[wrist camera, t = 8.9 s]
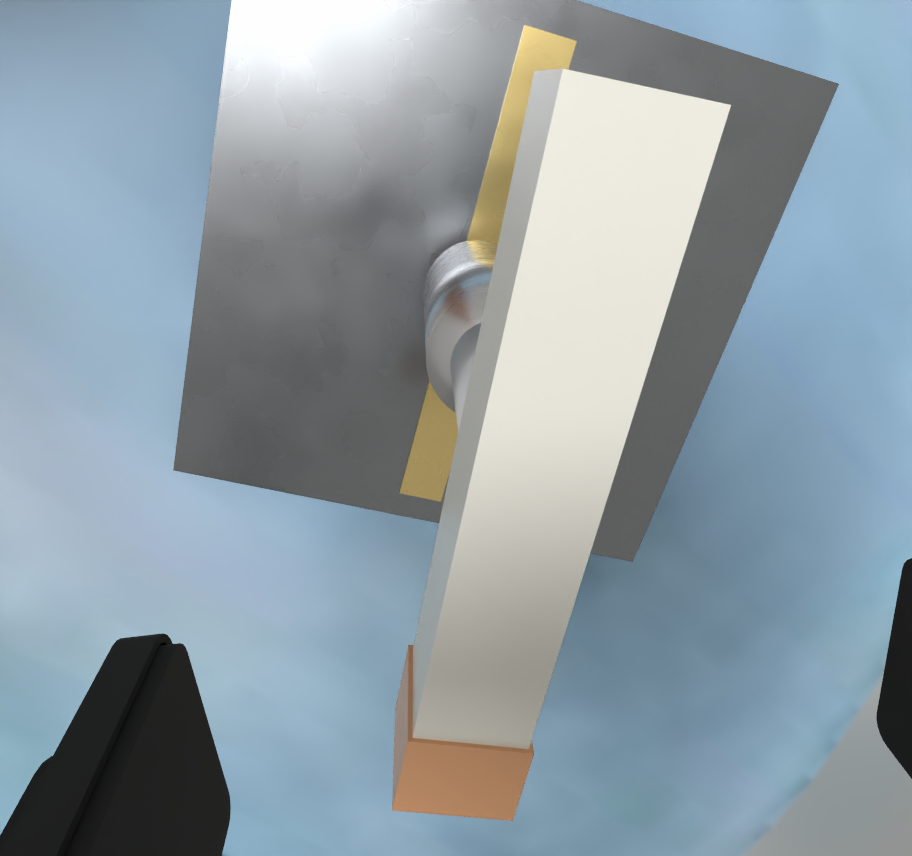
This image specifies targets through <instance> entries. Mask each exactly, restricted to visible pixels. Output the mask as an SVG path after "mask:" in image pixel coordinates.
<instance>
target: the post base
mask: <svg viewBox="0 0 912 856" xmlns="http://www.w3.org/2000/svg"><path fill="white" fill-rule="evenodd" d="M552 69H567V70H572V71H576V72H581V73H586V74H590V75H595V76H600V77H604V78H609V79H613V80H618V81H623V82H627V83H632V84H637V85H641V86H646V87H650V88H655V89H660V90H664V91H669V92H673V93H678V94H683V95H687V96H692V97H697V98H701V99H706V100H710V101H715V102H720V103H724V104H729V105H731V107H730V110H729V113H728V117H727V120H726V123H725V126H724V129H723V133H722V136H721V139H720V142H719V145H718V148H717V152H716V155H715V158H714V161H713V164H712V168H711V171H710V174H709V177H708V180H707V183H706V187H705V190H704V193H703V196H702V199H701V202H700V206H699V209H698V212H697V215H696V218H695V222H694V225H693V228H692V231H691V234H690V237H689V241H688V244H687V247H686V250H685V253H684V257H683V260H682V263H681V266H680V269H679V272H678V276H677V279H676V282H675V285H674V288H673V292H672V295H671V298H670V301H669V304H668V307H667V311H666V314H665V317H664V320H663V323H662V327H661V330H660V333H659V336H658V339H657V342H656V346H655V349H654V352H653V355H652V358H651V362H650V365H649V368H648V371H647V374H646V377H645V381H644V384H643V387H642V390H641V393H640V397H639V400H638V403H637V406H636V409H635V412H634V416H633V419H632V422H631V425H630V428H629V432H628V435H627V438H626V441H625V444H624V447H623V451H622V454H621V457H620V460H619V463H618V466H617V470H616V473H615V476H614V479H613V482H612V486H611V489H610V492H609V495H608V498H607V501H606V505H605V508H604V511H603V514H602V517H601V521H600V524H599V527H598V530H597V533H596V536H595V540H594V543H593V546H592V549H591V552H590V553H592V554H597V555H602V556H607V557H612V558H617V559H622V560H627V561H632V562H633V559H634V557H635V555H636V552H637V550H638V548H639V545H640V543H641V541H642V539H643V536H644V534H645V532H646V529H647V527H648V525H649V522H650V520H651V518H652V515H653V513H654V511H655V508H656V506H657V504H658V501H659V499H660V497H661V495H662V492H663V490H664V488H665V485H666V483H667V481H668V478H669V476H670V474H671V471H672V469H673V467H674V464H675V462H676V460H677V458H678V455H679V453H680V451H681V448H682V446H683V444H684V441H685V439H686V437H687V434H688V432H689V430H690V427H691V425H692V423H693V421H694V418H695V416H696V414H697V411H698V409H699V407H700V404H701V402H702V400H703V397H704V395H705V393H706V390H707V388H708V386H709V383H710V381H711V379H712V377H713V374H714V372H715V370H716V367H717V365H718V363H719V360H720V358H721V356H722V353H723V351H724V349H725V346H726V344H727V342H728V340H729V337H730V335H731V333H732V330H733V328H734V326H735V323H736V321H737V319H738V316H739V314H740V312H741V309H742V307H743V305H744V302H745V300H746V298H747V296H748V293H749V291H750V289H751V286H752V284H753V282H754V279H755V277H756V275H757V272H758V270H759V268H760V265H761V263H762V261H763V259H764V256H765V254H766V252H767V249H768V247H769V245H770V242H771V240H772V238H773V235H774V233H775V231H776V228H777V226H778V224H779V222H780V219H781V217H782V215H783V212H784V210H785V208H786V205H787V203H788V201H789V198H790V196H791V194H792V191H793V189H794V187H795V184H796V182H797V180H798V178H799V175H800V173H801V171H802V168H803V166H804V164H805V161H806V159H807V157H808V154H809V152H810V150H811V147H812V145H813V143H814V141H815V138H816V136H817V134H818V131H819V129H820V127H821V124H822V122H823V120H824V117H825V115H826V113H827V110H828V108H829V106H830V103H831V101H832V99H833V97H834V94H835V92H836V90H837V87H838V85H839V84H838V83H834V82H831V81H828V80H825V79H822V78H819V77H816V76H812V75H809V74H806V73H803V72H800V71H797V70H794V69H791V68H787V67H784V66H781V65H778V64H775V63H772V62H769V61H765V60H762V59H759V58H756V57H753V56H750V55H747V54H744V53H740V52H737V51H734V50H731V49H728V48H725V47H722V46H718V45H715V44H712V43H709V42H706V41H703V40H700V39H697V38H693V37H690V36H687V35H684V34H681V33H678V32H675V31H671V30H668V29H665V28H662V27H659V26H656V25H653V24H649V23H646V22H643V21H640V20H637V19H634V18H631V17H628V16H624V15H621V14H618V13H615V12H612V11H609V10H606V9H602V8H599V7H596V6H593V5H590V4H587V3H584V2H581V1H577V0H232V2H231V10H230V18H229V26H228V34H227V42H226V50H225V58H224V66H223V75H222V83H221V91H220V99H219V107H218V115H217V123H216V131H215V139H214V147H213V155H212V163H211V171H210V179H209V187H208V196H207V204H206V212H205V220H204V228H203V236H202V244H201V252H200V260H199V268H198V276H197V284H196V292H195V300H194V308H193V317H192V325H191V333H190V341H189V349H188V357H187V365H186V373H185V381H184V389H183V397H182V405H181V413H180V421H179V429H178V438H177V446H176V454H175V462H174V470H175V471H180V472H185V473H190V474H195V475H200V476H205V477H210V478H215V479H220V480H225V481H230V482H235V483H240V484H245V485H250V486H255V487H260V488H265V489H270V490H275V491H280V492H285V493H290V494H295V495H300V496H305V497H310V498H316V499H321V500H326V501H331V502H336V503H341V504H346V505H351V506H356V507H361V508H366V509H371V510H376V511H381V512H386V513H391V514H396V515H401V516H406V517H411V518H416V519H421V520H426V521H431V522H436V523H439V522H440V517H441V512H442V507H443V503H444V498H445V493H446V488H447V484H448V479H449V474H450V469H451V465H452V460H453V455H454V450H455V446H456V441H457V436H458V426H457V418H456V410H455V402H454V394H453V386H452V378H451V370H450V362H451V356H452V352H453V349H454V347H455V345H456V343H457V342H458V340H459V339H460V338H461V336H462V335H463V334H464V333H465V332H466V331H467V330H469V329H470V328H471V327H473V326H475V325H476V324H479V323H481V322H482V318H483V313H484V308H485V303H486V299H487V294H488V289H489V284H490V280H491V275H492V270H493V265H494V261H495V256H496V251H497V246H498V242H499V237H500V232H501V227H502V223H503V218H504V213H505V208H506V204H507V199H508V194H509V189H510V185H511V180H512V175H513V170H514V166H515V161H516V156H517V151H518V147H519V142H520V137H521V132H522V128H523V123H524V118H525V113H526V109H527V104H528V99H529V94H530V90H531V85H532V80H533V75H534V71H541V70H552Z"/></svg>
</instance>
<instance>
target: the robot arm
mask: <svg viewBox="0 0 912 856" xmlns="http://www.w3.org/2000/svg"><path fill="white" fill-rule="evenodd" d="M877 724H878V728H879V732H880V734H881V736H882V739H883V741H884V742H885V744H886V745H887V747H888V748H889V749H890V751H891V752H892V753H893V754H894V756H895V757H896V759H897V760H898V761H899V763H900V764H901V765H902V767H903V768H904V769H905V771H906V772H907V773H908V774H909V776H910V777H911V778H912V558H911V559H909V560H907V561H906V562H905V563H904V566H903V569H902V574H901V579H900V585H899V591H898V596H897V602H896V608H895V613H894V619H893V625H892V630H891V636H890V642H889V647H888V653H887V659H886V664H885V670H884V676H883V681H882V687H881V693H880V699H879V705H878V710H877ZM229 821H230V796H229V791H228V788H227V784H226V781H225V778H224V774H223V771H222V768H221V764H220V761H219V757H218V754H217V751H216V747H215V744H214V740H213V737H212V734H211V730H210V727H209V724H208V720H207V717H206V713H205V710H204V707H203V703H202V700H201V696H200V693H199V690H198V686H197V683H196V680H195V676H194V673H193V669H192V666H191V663H190V659H189V656H188V652H187V650H186V648H185V646H184V645H183V644H180V643H179V644H172V641H171V639H170V638H169V637H168V635H166V634H155V635H147V636H138V637H130V638H121V639H119V640H117V641H116V642H115V643H114V645H113V646H112V648H111V650H110V651H109V653H108V655H107V657H106V659H105V661H104V662H103V664H102V666H101V668H100V670H99V672H98V674H97V675H96V677H95V679H94V681H93V683H92V685H91V687H90V688H89V690H88V692H87V694H86V696H85V698H84V700H83V701H82V703H81V705H80V707H79V709H78V711H77V713H76V714H75V716H74V718H73V720H72V722H71V724H70V726H69V727H68V729H67V731H66V733H65V735H64V737H63V739H62V740H61V742H60V744H59V746H58V748H57V750H56V751H55V753H54V755H53V756H51V757H50V758H49V759H47V760H46V761H44V762H43V763H42V764H41V766H40V767H39V768H38V770H37V771H36V773H35V774H34V776H33V777H32V779H31V781H30V783H29V785H28V786H27V788H26V790H25V792H24V794H23V796H22V797H21V799H20V801H19V803H18V805H17V806H16V808H15V810H14V812H13V814H12V815H11V817H10V819H9V821H8V823H7V824H6V826H5V828H4V830H3V832H2V834H1V835H0V856H221V855H222V851H223V847H224V843H225V839H226V835H227V831H228V826H229Z"/></svg>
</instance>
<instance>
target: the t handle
mask: <svg viewBox="0 0 912 856" xmlns="http://www.w3.org/2000/svg"><path fill="white" fill-rule="evenodd" d="M730 107H731V105H729V104H724V103H720V102H715V101H710V100H706V99H701V98H697V97H692V96H687V95H683V94H678V93H673V92H669V91H664V90H660V89H655V88H650V87H646V86H641V85H637V84H632V83H627V82H623V81H618V80H613V79H609V78H604V77H600V76H595V75H590V74H586V73H581V72H576V71H572V70H567V69H552V70H541V71H534V75H533V80H532V85H531V90H530V94H529V99H528V104H527V109H526V113H525V118H524V123H523V128H522V132H521V137H520V142H519V147H518V151H517V156H516V161H515V166H514V170H513V175H512V180H511V185H510V189H509V194H508V199H507V204H506V208H505V213H504V218H503V223H502V227H501V232H500V237H499V242H498V246H497V251H496V256H495V261H494V265H493V270H492V275H491V280H490V284H489V289H488V294H487V299H486V303H485V308H484V313H483V318H482V322H481V323H479V324H476V325H475V326H473V327H471V328H470V329H469V330H467V331H466V332H465V333H464V334H463V335H462V336H461V338H460V339H459V340H458V342H457V343H456V345H455V347H454V349H453V352H452V356H451V362H450V370H451V378H452V386H453V394H454V402H455V410H456V418H457V426H458V436H457V441H456V446H455V450H454V455H453V460H452V465H451V469H450V474H449V479H448V484H447V488H446V493H445V498H444V503H443V507H442V512H441V517H440V522H439V526H438V531H437V536H436V541H435V545H434V550H433V555H432V560H431V564H430V569H429V574H428V579H427V583H426V588H425V593H424V598H423V602H422V607H421V612H420V617H419V621H418V626H417V631H416V636H415V640H414V645H413V646H412V645H408V650H407V655H406V660H405V665H404V669H403V674H402V679H401V684H400V689H399V693H398V698H397V703H396V708H395V737H394V770H393V803H392V810H393V811H405V812H417V813H428V814H440V815H452V816H463V817H475V818H487V819H498V820H510V821H513V818H514V815H515V812H516V809H517V805H518V802H519V799H520V796H521V793H522V790H523V787H524V784H525V780H526V777H527V774H528V771H529V768H530V765H531V762H532V759H533V755H534V751H533V745H532V737H533V734H534V730H535V727H536V724H537V721H538V718H539V715H540V711H541V708H542V705H543V702H544V699H545V696H546V692H547V689H548V686H549V683H550V680H551V676H552V673H553V670H554V667H555V664H556V661H557V657H558V654H559V651H560V648H561V645H562V641H563V638H564V635H565V632H566V629H567V626H568V622H569V619H570V616H571V613H572V610H573V606H574V603H575V600H576V597H577V594H578V591H579V587H580V584H581V581H582V578H583V575H584V571H585V568H586V565H587V562H588V559H589V556H590V552H591V549H592V546H593V543H594V540H595V536H596V533H597V530H598V527H599V524H600V521H601V517H602V514H603V511H604V508H605V505H606V501H607V498H608V495H609V492H610V489H611V486H612V482H613V479H614V476H615V473H616V470H617V466H618V463H619V460H620V457H621V454H622V451H623V447H624V444H625V441H626V438H627V435H628V432H629V428H630V425H631V422H632V419H633V416H634V412H635V409H636V406H637V403H638V400H639V397H640V393H641V390H642V387H643V384H644V381H645V377H646V374H647V371H648V368H649V365H650V362H651V358H652V355H653V352H654V349H655V346H656V342H657V339H658V336H659V333H660V330H661V327H662V323H663V320H664V317H665V314H666V311H667V307H668V304H669V301H670V298H671V295H672V292H673V288H674V285H675V282H676V279H677V276H678V272H679V269H680V266H681V263H682V260H683V257H684V253H685V250H686V247H687V244H688V241H689V237H690V234H691V231H692V228H693V225H694V222H695V218H696V215H697V212H698V209H699V206H700V202H701V199H702V196H703V193H704V190H705V187H706V183H707V180H708V177H709V174H710V171H711V168H712V164H713V161H714V158H715V155H716V152H717V148H718V145H719V142H720V139H721V136H722V133H723V129H724V126H725V123H726V120H727V117H728V113H729V110H730Z"/></svg>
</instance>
